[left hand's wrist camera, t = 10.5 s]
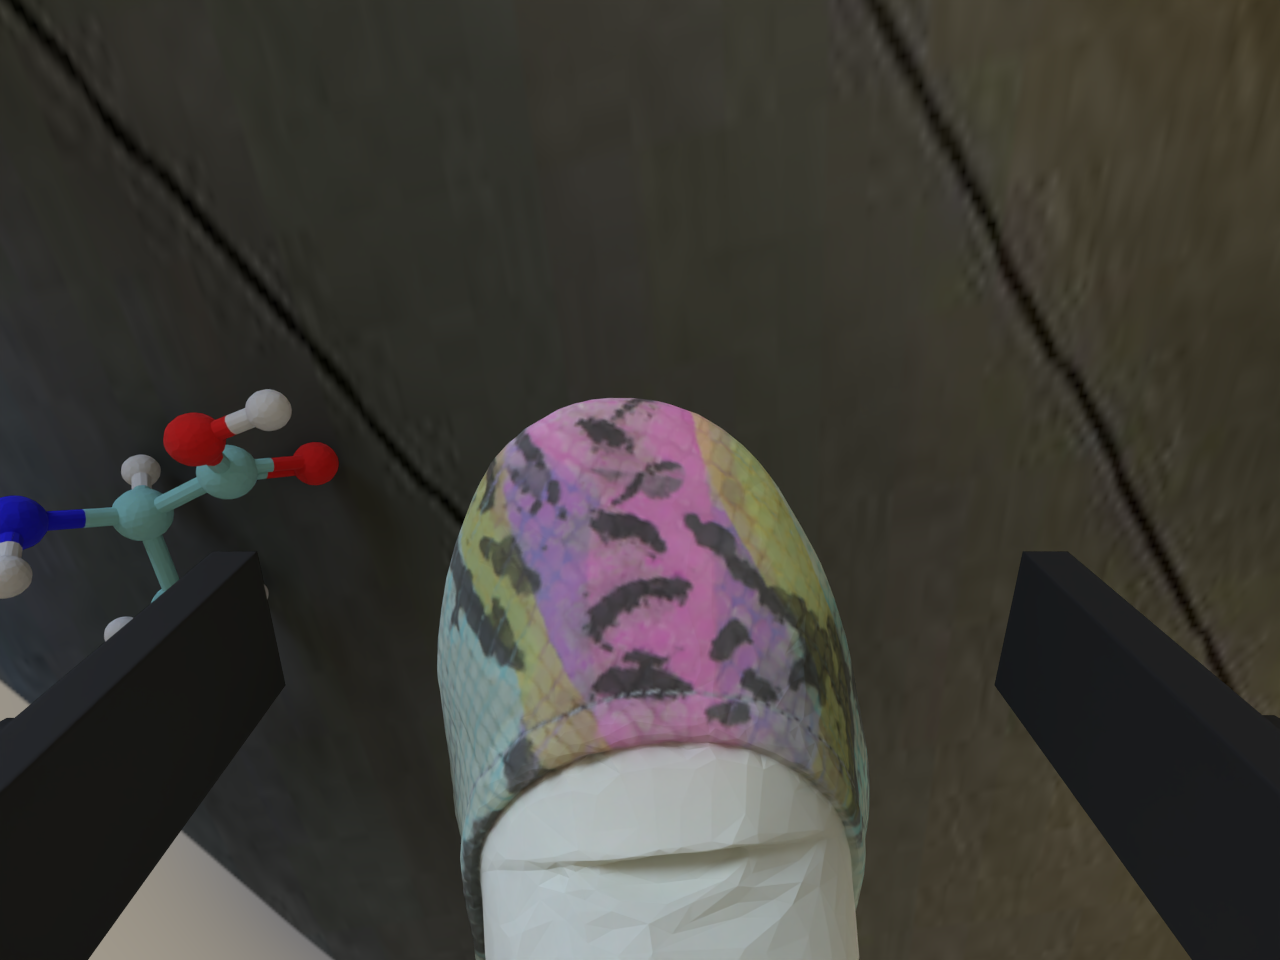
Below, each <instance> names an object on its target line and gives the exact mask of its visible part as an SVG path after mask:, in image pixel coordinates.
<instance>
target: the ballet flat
mask: <svg viewBox="0 0 1280 960" xmlns="http://www.w3.org/2000/svg"><path fill="white" fill-rule="evenodd" d="M437 673H438V682H439V688H440V693H441V701H442V709H443V718H444V725H445V732H446V739H447V745H448V751H449V757H450V768H451V778H452V783H453V797H454V805H455V813H456V818H457V823H458V829H459V832H460V836H461V855H460V861H461V872H462V880H463V893H464V897H465V899H466V910H467V913H468V917H469V922H470V927H471V930H472V934H473V940H474V949H475V958H476V960H859V950H858V938H857V926H856V914H855V911H856V907H857V904H858V899H859V895H860V890H861V886H862V881H863V876H864V867H865V856H866V854H865V836H866V830H867V824H868V816H869V802H870V779H869V763H868V756H867V749H866V742H865V736H864V729H863V723H862V718H861V712H860V707H859V701H858V696H857V691H856V685H855V679H854V673H853V667H852V663H851V658H850V653H849V649H848V644H847V640H846V635H845V632H844V629H843V625H842V622H841V619H840V616H839V612H838V609H837V606H836V602H835V599H834V596H833V593H832V591H831V588H830V586H829V583H828V580H827V578H826V575H825V573H824V570H823V568H822V565H821V563H820V561H819V559H818V557H817V555H816V553H815V551H814V549H813V547H812V546H811V544H810V542H809V540H808V538H807V536H806V534H805V533H804V531H803V529H802V527H801V525H800V524H799V522H798V520H797V519H796V517H795V515H794V513H793V512H792V510H791V508H790V507H789V505H788V503H787V502H786V500H785V498H784V496H783V495H782V493H781V491H780V490H779V488H778V486H777V485H776V484H775V482H774V481H773V480H772V478H771V477H770V476H769V474H768V473H767V472H766V470H765V469H764V468H763V467H762V465H761V464H760V463H759V461H758V460H757V459H756V458H755V457H754V456H753V455H752V454H751V453H750V452H749V451H748V450H747V449H746V448H745V447H744V446H743V445H742V444H740V443H739V442H738V441H737V440H736V439H734V438H733V437H732V436H731V435H729V434H728V433H727V432H726V431H724V430H723V429H722V428H720V427H718V426H717V425H715V424H714V423H712V422H710V421H709V420H707V419H705V418H704V417H702V416H700V415H699V414H696V413H693V412H690V411H687V410H685V409H682V408H679V407H676V406H673V405H670V404H667V403H663V402H659V401H652V400H645V399H636V398H604V399H595V400H589V401H584V402H580V403H576V404H572V405H569V406H567V407H564V408H561V409H558V410H557V411H555V412H553V413H551V414H550V415H548V416H546V417H544V418H543V419H541V420H539V421H538V422H536V423H534V424H532V425H531V426H529V427H527V428H526V429H524V430H523V431H522V432H521V433H520V434H519V435H518V436H517V437H516V438H514V439H513V440H512V441H511V442H509V443H508V444H507V445H506V446H505V447H504V448H503V450H502V451H501V452H500V453H499V454H498V455H497V456H496V457H495V459H494V460H493V461H492V462H491V464H490V466H489V468H488V470H487V472H486V473H485V475H484V477H483V479H482V480H481V482H480V484H479V486H478V488H477V490H476V492H475V494H474V496H473V498H472V501H471V504H470V506H469V509H468V512H467V514H466V517H465V520H464V522H463V525H462V528H461V530H460V533H459V536H458V538H457V541H456V544H455V548H454V552H453V555H452V559H451V563H450V567H449V571H448V574H447V578H446V584H445V590H444V597H443V603H442V609H441V618H440V627H439V636H438V659H437Z"/></svg>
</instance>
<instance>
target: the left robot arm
mask: <svg viewBox="0 0 1280 960" xmlns="http://www.w3.org/2000/svg"><path fill="white" fill-rule="evenodd" d="M284 686H285V681H284V676H283V671H282V667H281V662H280V657H279V653H278V648H277V643H276V638H275V634H274V629H273V624H272V619H271V615H270V610H269V605H268V601H267V596H266V591H265V586H264V582H263V577H262V572H261V568H260V563H259V558H258V553H257V552H211V553H210V554H209V555H208V556H207V557H205V558H204V559H203V560H202V561H201V562H199V563H198V564H197V565H196V566H195V567H193V568H192V569H191V570H190V571H189V572H188V573H186V574H185V575H184V576H183V577H182V578H180V579H179V580H178V581H177V582H176V583H174V584H173V585H172V586H171V587H170V588H169V589H167V590H166V591H165V592H164V593H163V594H161V595H160V596H159V597H158V598H157V599H155V600H154V601H153V602H152V603H151V604H150V605H148V606H147V607H146V608H145V609H144V610H142V611H141V612H140V613H139V614H138V615H136V616H135V617H134V618H133V619H132V620H130V621H129V622H128V623H127V624H126V625H125V626H123V627H122V628H121V629H120V630H119V631H117V632H116V633H115V634H114V635H113V636H111V637H110V638H109V639H108V640H107V641H106V642H104V643H103V644H102V645H101V646H100V647H98V648H97V649H96V650H95V651H94V652H92V653H91V654H90V655H89V656H88V657H87V658H85V659H84V660H83V661H82V662H81V663H79V664H78V665H77V666H76V667H75V668H73V669H72V670H71V671H70V672H69V673H68V674H66V675H65V676H64V677H63V678H62V679H60V680H59V681H58V682H57V683H56V684H54V685H53V686H52V687H51V688H50V689H48V690H47V691H46V692H45V693H44V694H43V695H41V696H40V697H39V698H38V699H37V700H35V701H34V702H33V703H32V704H31V705H29V706H28V707H27V708H26V709H25V710H24V711H22V712H21V713H20V714H19V715H18V716H16V717H15V718H6V719H4V720H2V721H0V960H88V959H89V957H90V956H91V955H92V953H93V952H94V951H95V949H96V948H97V946H98V945H99V944H100V942H101V941H102V939H103V938H104V937H105V935H106V934H107V933H108V931H109V930H110V928H111V927H112V926H113V924H114V923H115V921H116V920H117V919H118V917H119V916H120V914H121V913H122V912H123V910H124V909H125V907H126V906H127V905H128V903H129V902H130V901H131V899H132V898H133V896H134V895H135V894H136V892H137V891H138V889H139V888H140V887H141V885H142V884H143V882H144V881H145V880H146V878H147V877H148V875H149V874H150V873H151V871H152V870H153V869H154V867H155V866H156V864H157V863H158V862H159V860H160V859H161V857H162V856H163V855H164V853H165V852H166V850H167V849H168V848H169V846H170V845H171V843H172V842H173V841H174V839H175V838H176V837H177V835H178V834H179V832H180V831H181V830H182V828H183V827H184V825H185V824H186V823H187V821H188V820H189V818H190V817H191V816H192V814H193V813H194V812H195V810H196V809H197V807H198V806H199V805H200V803H201V802H202V800H203V799H204V798H205V796H206V795H207V793H208V792H209V791H210V789H211V788H212V786H213V785H214V784H215V782H216V781H217V780H218V778H219V777H220V775H221V774H222V773H223V771H224V770H225V768H226V767H227V766H228V764H229V763H230V761H231V760H232V759H233V757H234V756H235V754H236V753H237V752H238V750H239V749H240V748H241V746H242V745H243V743H244V742H245V741H246V739H247V738H248V736H249V735H250V734H251V732H252V731H253V729H254V728H255V727H256V725H257V724H258V723H259V721H260V720H261V718H262V717H263V716H264V714H265V713H266V711H267V710H268V709H269V707H270V706H271V704H272V703H273V702H274V700H275V699H276V697H277V696H278V695H279V693H280V692H281V691H282V689H283V688H284ZM995 686H996V688H997V689H998V691H999V692H1000V693H1001V695H1002V696H1003V697H1004V699H1005V700H1006V702H1007V703H1008V704H1009V706H1010V707H1011V709H1012V710H1013V711H1014V713H1015V714H1016V716H1017V717H1018V718H1019V720H1020V721H1021V723H1022V724H1023V725H1024V727H1025V728H1026V729H1027V731H1028V732H1029V734H1030V735H1031V736H1032V738H1033V739H1034V741H1035V742H1036V743H1037V745H1038V746H1039V748H1040V749H1041V750H1042V752H1043V753H1044V754H1045V756H1046V757H1047V759H1048V760H1049V761H1050V763H1051V764H1052V766H1053V767H1054V768H1055V770H1056V771H1057V773H1058V774H1059V775H1060V777H1061V778H1062V780H1063V781H1064V782H1065V784H1066V785H1067V786H1068V788H1069V789H1070V791H1071V792H1072V793H1073V795H1074V796H1075V798H1076V799H1077V800H1078V802H1079V803H1080V805H1081V806H1082V807H1083V809H1084V810H1085V812H1086V813H1087V814H1088V816H1089V817H1090V818H1091V820H1092V821H1093V823H1094V824H1095V825H1096V827H1097V828H1098V830H1099V831H1100V832H1101V834H1102V835H1103V837H1104V838H1105V839H1106V841H1107V842H1108V844H1109V845H1110V846H1111V848H1112V849H1113V850H1114V852H1115V853H1116V855H1117V856H1118V857H1119V859H1120V860H1121V862H1122V863H1123V864H1124V866H1125V867H1126V869H1127V870H1128V871H1129V873H1130V874H1131V876H1132V877H1133V878H1134V880H1135V881H1136V882H1137V884H1138V885H1139V887H1140V888H1141V889H1142V891H1143V892H1144V894H1145V895H1146V896H1147V898H1148V899H1149V901H1150V902H1151V903H1152V905H1153V906H1154V908H1155V909H1156V910H1157V912H1158V913H1159V914H1160V916H1161V917H1162V919H1163V920H1164V921H1165V923H1166V924H1167V926H1168V927H1169V928H1170V930H1171V931H1172V933H1173V934H1174V935H1175V937H1176V938H1177V940H1178V941H1179V942H1180V944H1181V945H1182V946H1183V948H1184V949H1185V951H1186V952H1187V953H1188V955H1189V956H1190V958H1191V959H1192V960H1280V718H1278V717H1276V716H1274V715H1261V714H1260V713H1259V712H1258V711H1256V710H1255V709H1254V708H1253V707H1252V706H1251V705H1249V704H1248V703H1247V702H1246V701H1245V700H1243V699H1242V698H1241V697H1240V696H1239V695H1237V694H1236V693H1235V692H1234V691H1233V690H1232V689H1230V688H1229V687H1228V686H1227V685H1226V684H1224V683H1223V682H1222V681H1221V680H1220V679H1218V678H1217V677H1216V676H1215V675H1214V674H1212V673H1211V672H1210V671H1209V670H1208V669H1207V668H1205V667H1204V666H1203V665H1202V664H1201V663H1199V662H1198V661H1197V660H1196V659H1195V658H1193V657H1192V656H1191V655H1190V654H1189V653H1188V652H1186V651H1185V650H1184V649H1183V648H1182V647H1180V646H1179V645H1178V644H1177V643H1176V642H1174V641H1173V640H1172V639H1171V638H1170V637H1169V636H1167V635H1166V634H1165V633H1164V632H1163V631H1161V630H1160V629H1159V628H1158V627H1157V626H1155V625H1154V624H1153V623H1152V622H1151V621H1149V620H1148V619H1147V618H1146V617H1145V616H1144V615H1142V614H1141V613H1140V612H1139V611H1138V610H1136V609H1135V608H1134V607H1133V606H1132V605H1130V604H1129V603H1128V602H1127V601H1126V600H1125V599H1123V598H1122V597H1121V596H1120V595H1119V594H1117V593H1116V592H1115V591H1114V590H1113V589H1111V588H1110V587H1109V586H1108V585H1107V584H1106V583H1104V582H1103V581H1102V580H1101V579H1100V578H1098V577H1097V576H1096V575H1095V574H1094V573H1092V572H1091V571H1090V570H1089V569H1088V568H1087V567H1085V566H1084V565H1083V564H1082V563H1081V562H1079V561H1078V560H1077V559H1076V558H1075V557H1073V556H1072V555H1071V554H1070V553H1069V552H1023V553H1022V558H1021V563H1020V567H1019V572H1018V577H1017V582H1016V586H1015V591H1014V596H1013V601H1012V605H1011V610H1010V615H1009V619H1008V624H1007V629H1006V634H1005V638H1004V643H1003V648H1002V652H1001V657H1000V662H999V667H998V671H997V676H996V681H995Z"/></svg>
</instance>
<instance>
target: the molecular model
mask: <svg viewBox="0 0 1280 960" xmlns="http://www.w3.org/2000/svg"><path fill="white" fill-rule="evenodd" d="M291 413H292V409H291V405H290V403H289V401H288V400H287V398H286V397H285V396H284V395H283V394H281V393H280V392H277V391H275V390H270V389H265V390H261V391H257V392H255V393H254V394H253V395H252V396H251V397H249V399H248V400H247V402H246V406H245V408H244V409H241V410H239V411H236V412H234V413H231V414H229V415H226V416H224V417H221V418H219V419H216V420H215V419H213V418H212V417H210V416H208V415H205V414H203V413H187V414H183V415H180V416H177V417H176V418H175V419H174V420H172V421H171V422H170V423H169V424H168V425H167V427H166V428H165V431H164V438H163V442H164V447H165V449H166V451H167V452H168V453H169V455H170V456H171V457H172V458H173V459H175V460H176V461H178V462H179V463H182V464H184V465H187V466H197V468H196V476H197V477H196V478H194V479H192V480H190V481H188V482H186V483H184V484H182V485H180V486H178V487H176V488H174V489H172V490H170V491H168V492H166V493H164V494H162V493H160V492H158V491H156V490H153V489H152V484H154V483H155V482H156V481H157V480H158V478H159V477H160V472H161V468H160V465H159V463H158V462H157V461H156V460H155V459H153V458H152V457H150V456H147V455H135V456H132V457H130V458H128V459H127V460H126V461H125V462H124V463H123V465H122V468H121V475H122V477H123V479H124V480H125V481H126V482H127V483H128V484H130V485H132V490H129V491H127V492H125V493H123V494H122V495H121V496H120V497H119V498H118V499H116V500H115V502H114V504H113V506H112V507H111V508H95V509H79V510H63V511H47V512H46V511H45V510H44V508H43V507H42V506H41V505H39V504H38V503H37V502H36V501H34V500H31V499H29V498H27V497H23V496H6V497H2V498H0V598H4V599H5V598H10V597H14V596H16V595H18V594H21V593H22V592H23V591H24V590H25V589H27V588H28V587H29V585H30V583H31V580H32V575H33V574H32V570H31V567H30V566H29V564H28V563H27V562H26V561H24V560H23V559H21V556H22V550H24V549H26V548H29V547H32V546H34V545H35V544H37V543H38V542H40V540H41V539H42V538H43V536H44V535H45V534H46V532H47V531H49V530H62V529H74V528H87V527H99V526H111V525H113V526H114V528H115V529H116V530H117V531H118V532H119V533H120V534H121V535H123V536H125V537H127V538H129V539H132V540H137V541H143V544H144V546H145V548H146V551H147V553H148V556H149V558H150V561H151V563H152V566H153V568H154V571H155V573H156V576H157V578H158V581H159V583H160V586H161V588H162V589H161V590H160V591H158V592H157V594H156V595H155V596H154V598H153V599H152V602H153V601H154V600H155V599H157V598H158V597H159V596H160V595H161V594H163V593H164V592H165V591H166V590H167V589H169V588H170V587H171V586H172V585H173V584H174V583H176V582H177V581H178V580H179V577H178V574H177V572H176V569H175V566H174V564H173V561H172V559H171V556H170V554H169V551H168V549H167V546H166V543H165V541H164V538H163V536H162V534H163V533H165V532H166V531H167V530H168V528H169V527H170V526H171V524H172V522H173V518H174V509H175V508H177V507H179V506H181V505H183V504H185V503H187V502H189V501H191V500H193V499H195V498H197V497H199V496H201V495H203V494H205V493H209V494H210V495H212V496H214V497H217V498H221V499H234V498H238V497H241V496H243V495H245V494H247V493H248V492H249V491H250V490H251V489H252V487H253V486H254V485H255V483H256V481H257V480H259V479H268V478H277V477H287V476H296V477H297V478H298V479H299V480H301V481H302V482H304V483H306V484H309V485H321V484H324V483H326V482H328V481H330V480H331V479H332V478H333V477H334V475H335V474H336V472H337V470H338V466H339V461H338V457H337V455H336V454H335V452H334V451H333V449H332V448H330V447H329V446H328V445H326V444H323V443H321V442H311V443H307V444H304V445H302V446H300V447H299V448H298V449H297V451H296V452H295V453H294V455H293V456H287V457H277V458H263V459H254V458H253V457H252V456H251V454H250V453H248V452H247V451H245V450H244V449H242V448H239V447H237V446H233V445H226V439H227V438H229V437H232V436H234V435H237V434H239V433H242V432H244V431H247V430H249V429H252V428H254V427H256V428H259V429H261V430H264V431H273V430H277V429H280V428H282V427H283V426H285V425H286V424H287V422H288V421H289V419H290V417H291ZM264 586H265V585H264ZM265 591H266V596H267V599H268V595H269V593H268V589H267V587H266V586H265ZM152 602H151V603H152ZM132 619H133V618H132V617H120V618H117V619H115V620H113V621H112V622H110V623H109V624H108V626H107V627H106V629H105V632H104V639H105V641H107V640H108V639H109V638H110V637H111V636H113V635H114V634H115V633H116V632H117V631H119V630H120V629H121V628H122V627H123V626H125V625H126V624H127V623H128V622H129V621H130V620H132Z"/></svg>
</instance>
